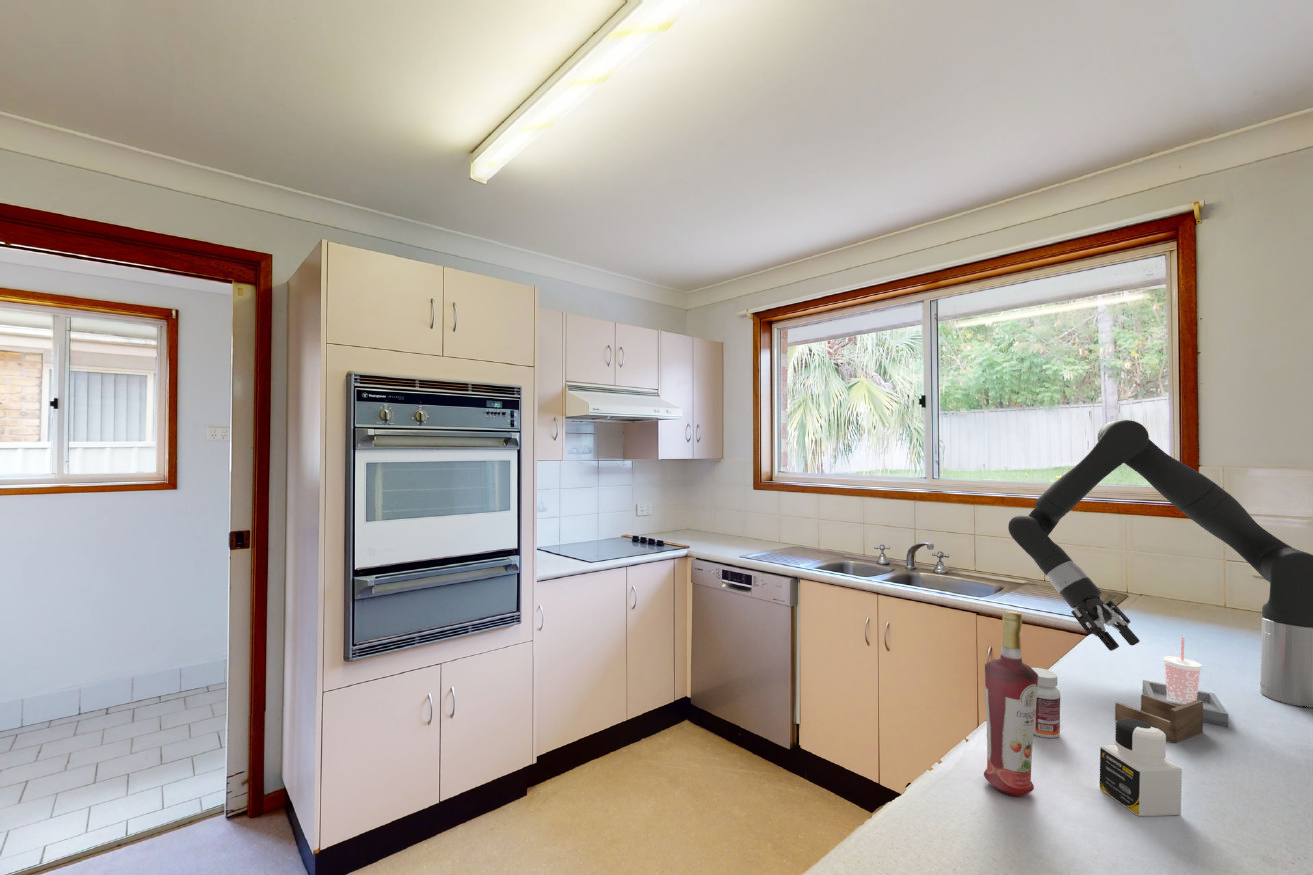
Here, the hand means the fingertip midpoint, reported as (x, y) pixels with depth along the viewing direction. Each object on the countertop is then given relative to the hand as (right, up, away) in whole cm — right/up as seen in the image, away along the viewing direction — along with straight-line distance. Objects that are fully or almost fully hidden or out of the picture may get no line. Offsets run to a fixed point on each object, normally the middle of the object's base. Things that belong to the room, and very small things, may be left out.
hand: (1125, 646), depth 135 cm
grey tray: (+4, -10, -10) cm, 14 cm away
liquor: (-51, -8, -41) cm, 66 cm away
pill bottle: (-34, -9, -22) cm, 41 cm away
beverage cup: (+4, -9, -10) cm, 14 cm away
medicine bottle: (-33, -9, -44) cm, 55 cm away
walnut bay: (-8, -9, -18) cm, 22 cm away
